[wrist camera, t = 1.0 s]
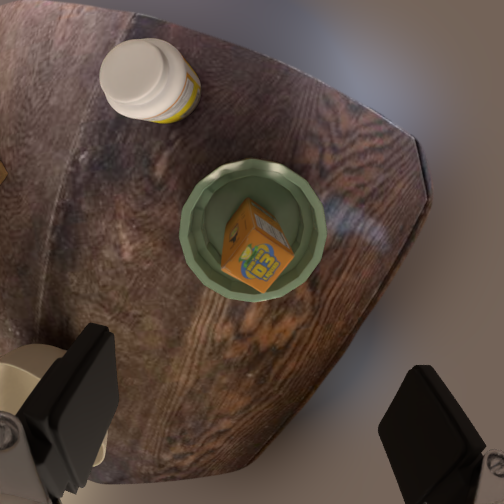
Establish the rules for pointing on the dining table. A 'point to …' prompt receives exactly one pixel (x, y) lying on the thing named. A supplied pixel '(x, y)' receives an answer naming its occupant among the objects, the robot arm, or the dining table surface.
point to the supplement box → (254, 247)
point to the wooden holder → (2, 173)
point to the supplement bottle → (149, 81)
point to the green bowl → (271, 199)
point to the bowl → (28, 378)
